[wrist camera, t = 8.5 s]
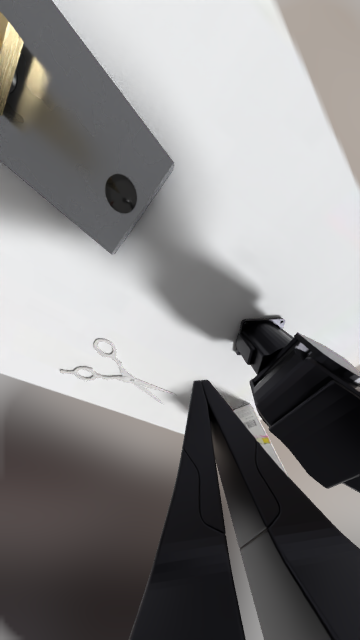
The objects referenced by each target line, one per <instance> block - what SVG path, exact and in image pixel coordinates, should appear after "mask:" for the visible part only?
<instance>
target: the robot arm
mask: <svg viewBox="0 0 360 640" xmlns="http://www.w3.org/2000/svg"><path fill="white" fill-rule="evenodd" d="M244 323H246V324H244ZM284 323H285V320H284V319H283V318H268V319H248V320H243V321H242V322H241V327H240V332H239V334H238V338H237V343H236V353H237V355H242V357H243V358H244V360H245V362H246V363H247V364H248V365H251V366H252V368H253V369H254V371H255V372H256V374H257V376H256V377H255V378H254V379H252V380H251V381H250V386H251V390H252V393H253V397H254V401H255V405H256V408H257V411H258V413H259V415H260V417H261V418H262V419H263V421H264V422H265V423H266V424H267V425H268V426H269V430H270V432H271V433H273V434H274V435H275V436H276V437H277V438H278V439H280V440H281V441H282V442H283V444H284V445H285V446H286V447H287V448H288V449H289V450H290V451H291V452H292V454H293V455H294V456H295V457H296V459H297V460H298V461H299V462H300V464H301V465H302V467H303V468H304V469H305V470H306V472H307V473H308V474H309V475H310V476H311V477H313V478H314V479H315V480H316V481H317V482H319V483H320V484H321V485H323V486H324V487H325V488H331V487H333V486H336V485H338V484H341V483H343V484H345V485H346V486H348V487H350V488H352V489H354V490H355V491H357V492H359V493H360V372H359V371H358V370H357V369H356V368H355V367H354V366H353V365H352V364H351V363H350V362H348V361H347V360H346V359H345V358H343V357H342V356H340V355H339V354H337V353H335V352H334V351H332V350H331V349H329V348H327V347H326V346H324V345H322V344H320V343H318V342H316V341H314V340H312V339H310V338H308V337H306V336H304V335H302V334H300V333H297V334H296V335H295V336H294V338H293V337H292V336H291V335H289V334H288V333H287V332H285V331H284V330H283V326H284ZM215 460H216V461H215ZM216 464H217V467H218V471H219V475H220V478H221V482H222V486H223V489H224V493H225V497H226V500H227V504H228V508H229V511H230V515H231V519H232V522H233V526H234V530H235V533H236V537H237V541H238V545H239V547H240V552H241V556H242V560H243V563H244V567H245V571H246V574H247V578H248V581H249V585H250V589H251V593H252V596H253V600H254V604H255V607H256V611H257V615H258V618H259V622H260V625H261V629H262V633H263V637H264V640H360V549H359V548H358V547H357V546H356V545H354V544H353V543H352V542H351V541H350V540H349V539H348V538H347V537H345V536H344V535H343V534H342V533H341V532H340V531H339V530H338V529H337V528H336V527H335V526H334V525H333V524H332V523H331V522H330V521H329V520H328V519H327V518H326V516H325V515H324V514H323V513H322V512H321V511H320V510H319V509H318V508H317V507H316V506H315V505H314V504H313V503H312V502H311V500H310V499H309V498H308V497H307V496H306V495H305V494H304V493H303V492H302V491H301V490H300V489H299V488H298V487H297V486H296V484H294V482H293V481H292V480H291V479H290V478H289V477H288V476H287V475H286V474H285V473H284V471H283V470H282V469H281V468H280V467H279V466H278V465H277V464H276V463H275V461H274V460H273V459H272V458H271V457H270V455H269V454H268V453H267V452H266V451H265V450H264V448H263V447H262V446H261V445H260V443H259V442H258V441H256V438H255V437H254V436H253V435H252V434H251V432H250V431H249V430H248V429H247V427H246V426H245V425H244V424H243V422H242V421H241V420H240V419H239V417H238V416H237V415H236V414H235V413H234V411H233V410H232V409H231V408H230V406H229V405H228V404H227V403H226V401H225V400H224V399H223V398H222V396H221V395H220V394H219V393H218V392H217V390H216V389H215V388H214V387H213V385H212V384H211V383H210V382H209V381H208V380H201V381H200V380H199V381H194V383H193V389H192V394H191V400H190V406H189V412H188V418H187V424H186V430H185V436H184V441H183V447H182V453H181V458H180V464H179V469H178V474H177V478H176V482H175V486H174V491H173V495H172V498H171V502H170V505H169V509H168V513H167V516H166V520H165V523H164V527H163V531H162V534H161V538H160V542H159V546H158V549H157V552H156V556H155V560H154V563H153V567H152V570H151V573H150V576H149V580H148V583H147V586H146V589H145V592H144V595H143V598H142V601H141V604H140V607H139V610H138V614H137V617H136V620H135V623H134V626H133V629H132V632H131V635H130V638H129V640H245V635H244V630H243V625H242V621H241V615H240V610H239V605H238V600H237V596H236V591H235V586H234V581H233V576H232V571H231V565H230V560H229V553H228V547H227V540H226V536H225V526H224V519H223V511H222V504H221V497H220V490H219V483H218V475H217V468H216Z"/></svg>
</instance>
